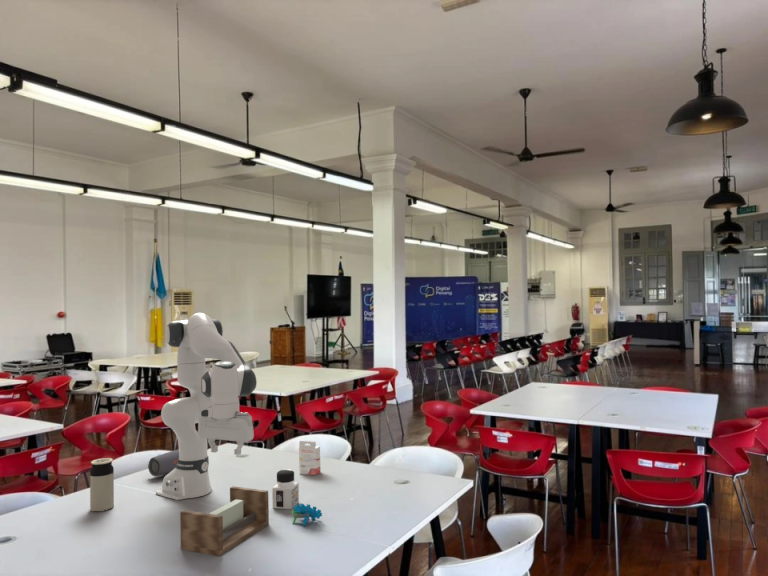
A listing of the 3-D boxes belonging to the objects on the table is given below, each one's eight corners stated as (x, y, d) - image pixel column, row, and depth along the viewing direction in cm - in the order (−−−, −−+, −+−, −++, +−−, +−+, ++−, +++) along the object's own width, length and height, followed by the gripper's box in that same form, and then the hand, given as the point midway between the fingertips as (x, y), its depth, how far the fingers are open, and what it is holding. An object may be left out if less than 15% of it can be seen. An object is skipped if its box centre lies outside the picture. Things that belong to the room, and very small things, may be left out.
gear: (327, 515, 195) (314, 501, 189) (323, 532, 191) (309, 518, 185) (300, 515, 199) (287, 502, 194) (295, 532, 195) (282, 518, 189)
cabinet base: (180, 548, 174) (180, 511, 174) (233, 518, 198) (232, 486, 198) (219, 556, 168) (219, 517, 169) (268, 524, 192) (268, 490, 193)
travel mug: (118, 506, 213) (118, 458, 214) (100, 513, 206) (99, 464, 207) (104, 503, 217) (103, 457, 217) (85, 510, 209) (85, 462, 210)
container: (291, 509, 206) (291, 474, 206) (272, 508, 208) (271, 473, 208) (299, 502, 214) (298, 468, 214) (280, 501, 215) (279, 467, 216)
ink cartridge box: (321, 472, 252) (320, 439, 253) (316, 475, 248) (316, 442, 248) (303, 470, 255) (303, 438, 255) (299, 474, 250) (298, 441, 251)
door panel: (208, 539, 177) (208, 513, 178) (236, 523, 190) (235, 499, 190) (216, 540, 176) (216, 514, 176) (243, 524, 189) (243, 500, 189)
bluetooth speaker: (160, 480, 244) (160, 457, 245) (147, 477, 249) (147, 455, 250) (202, 467, 264) (202, 446, 264) (189, 464, 269) (189, 444, 269)
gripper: (257, 411, 183) (257, 453, 183) (207, 407, 191) (208, 448, 191) (245, 414, 178) (246, 458, 177) (194, 411, 185) (195, 453, 185)
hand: (226, 453), depth 184 cm, fingers open, 8 cm apart
